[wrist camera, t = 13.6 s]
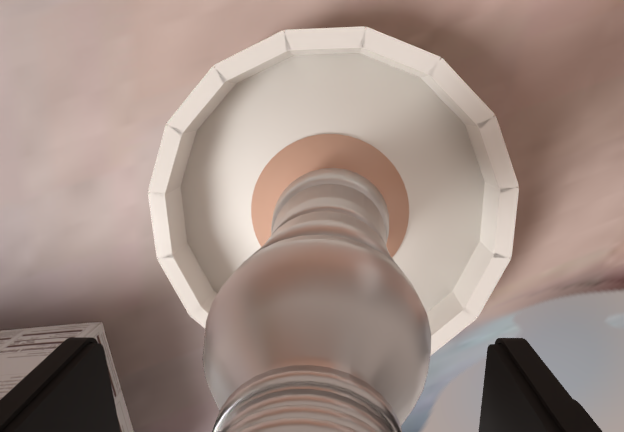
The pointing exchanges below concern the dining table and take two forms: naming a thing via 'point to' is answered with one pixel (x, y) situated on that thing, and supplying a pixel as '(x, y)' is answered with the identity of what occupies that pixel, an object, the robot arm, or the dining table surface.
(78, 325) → the supplement box
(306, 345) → the plastic bottle
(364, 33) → the round tray
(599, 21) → the dining table surface
